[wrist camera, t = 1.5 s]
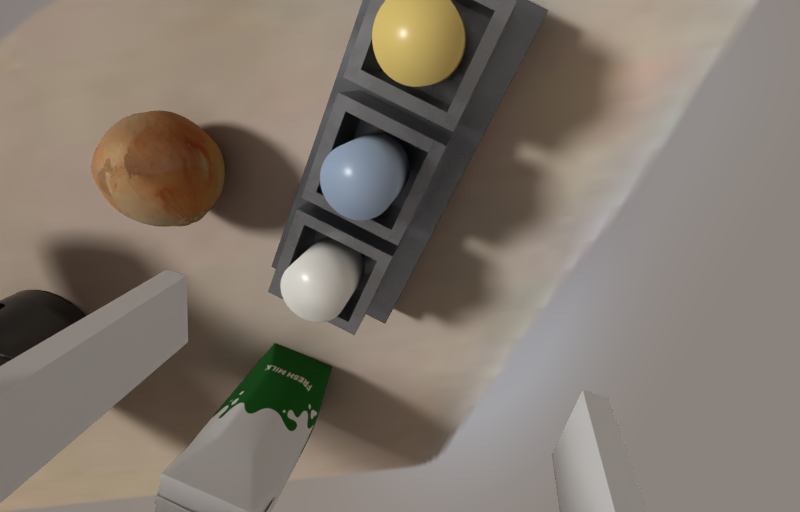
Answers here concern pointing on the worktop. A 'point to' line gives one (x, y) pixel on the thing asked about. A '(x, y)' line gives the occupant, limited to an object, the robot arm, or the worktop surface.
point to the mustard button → (419, 40)
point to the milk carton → (249, 440)
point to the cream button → (322, 280)
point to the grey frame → (405, 147)
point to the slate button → (364, 176)
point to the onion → (159, 169)
